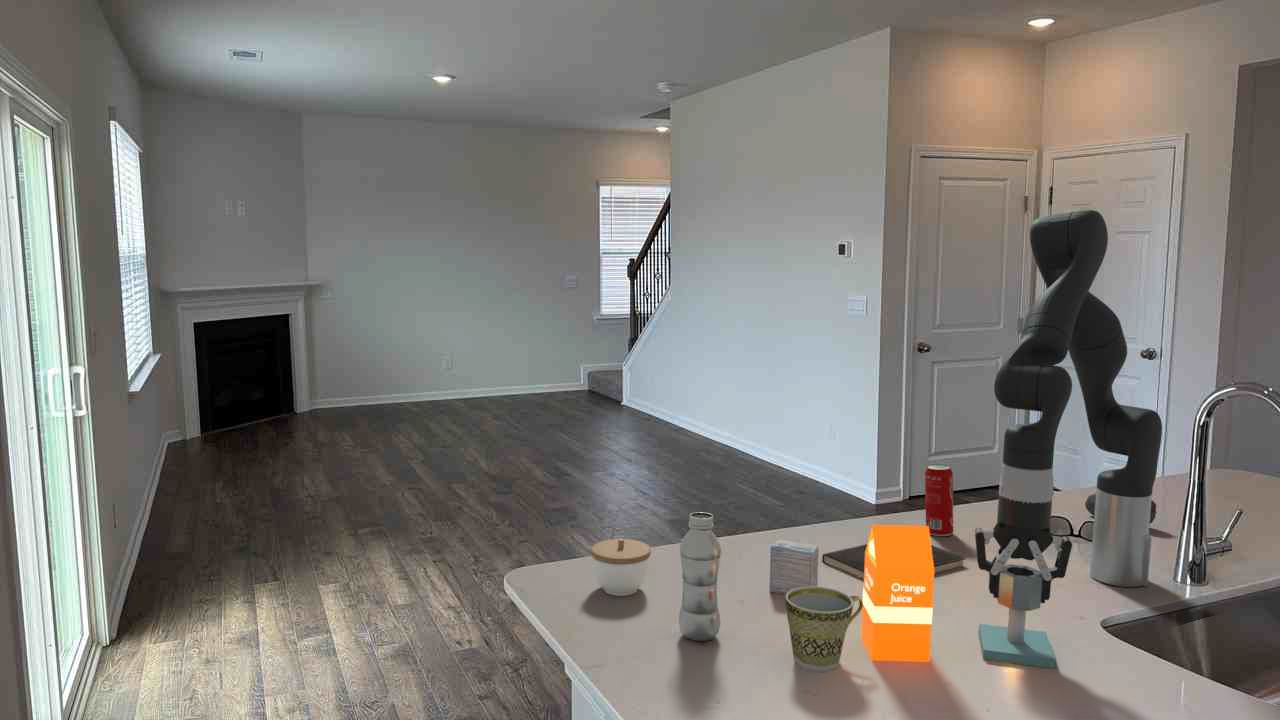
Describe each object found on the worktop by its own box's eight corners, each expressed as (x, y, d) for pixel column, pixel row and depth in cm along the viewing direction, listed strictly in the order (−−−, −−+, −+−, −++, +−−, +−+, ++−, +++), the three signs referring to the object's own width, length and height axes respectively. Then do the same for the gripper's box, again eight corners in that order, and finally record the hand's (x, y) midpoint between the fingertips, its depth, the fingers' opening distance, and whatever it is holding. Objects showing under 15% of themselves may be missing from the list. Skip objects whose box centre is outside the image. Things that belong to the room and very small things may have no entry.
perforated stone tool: (1079, 516, 211) (1081, 487, 210) (1090, 512, 214) (1092, 484, 213) (1145, 533, 199) (1148, 502, 198) (1156, 528, 202) (1159, 498, 202)
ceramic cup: (807, 683, 129) (810, 616, 127) (770, 654, 138) (772, 591, 136) (880, 667, 134) (884, 603, 133) (840, 640, 143) (843, 579, 142)
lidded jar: (614, 574, 170) (615, 526, 169) (661, 587, 164) (662, 537, 163) (578, 591, 161) (579, 541, 160) (627, 606, 155) (627, 553, 154)
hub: (1036, 597, 141) (1038, 567, 141) (1041, 612, 136) (1044, 580, 135) (995, 593, 143) (997, 562, 142) (999, 607, 137) (1001, 576, 137)
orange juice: (860, 638, 144) (866, 517, 141) (916, 639, 143) (922, 518, 141) (871, 660, 136) (877, 533, 133) (930, 662, 136) (937, 534, 133)
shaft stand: (1044, 640, 144) (1048, 592, 142) (1054, 668, 134) (1058, 617, 133) (978, 632, 146) (981, 585, 145) (983, 659, 137) (986, 608, 136)
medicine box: (817, 591, 163) (819, 545, 162) (811, 599, 159) (813, 552, 158) (775, 583, 166) (777, 538, 165) (768, 592, 162) (770, 545, 161)
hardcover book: (965, 568, 177) (965, 557, 177) (881, 590, 165) (882, 578, 165) (902, 545, 191) (903, 534, 190) (821, 563, 179) (822, 552, 178)
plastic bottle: (708, 649, 139) (711, 524, 136) (670, 639, 142) (672, 517, 140) (727, 634, 144) (730, 514, 142) (690, 624, 148) (692, 507, 145)
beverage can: (954, 538, 194) (958, 470, 192) (923, 536, 195) (927, 468, 193) (951, 529, 199) (954, 464, 198) (920, 527, 201) (924, 462, 199)
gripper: (1072, 491, 139) (1064, 595, 141) (973, 483, 143) (967, 584, 145) (1081, 504, 131) (1073, 614, 134) (977, 495, 136) (970, 602, 138)
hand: (1018, 598), depth 139 cm, fingers closed on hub, 6 cm apart
